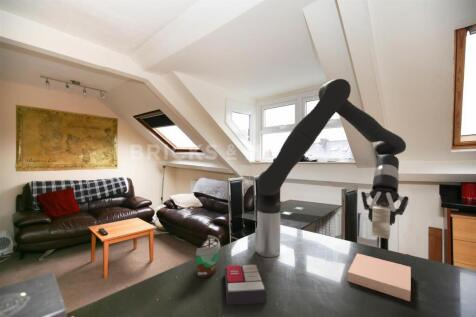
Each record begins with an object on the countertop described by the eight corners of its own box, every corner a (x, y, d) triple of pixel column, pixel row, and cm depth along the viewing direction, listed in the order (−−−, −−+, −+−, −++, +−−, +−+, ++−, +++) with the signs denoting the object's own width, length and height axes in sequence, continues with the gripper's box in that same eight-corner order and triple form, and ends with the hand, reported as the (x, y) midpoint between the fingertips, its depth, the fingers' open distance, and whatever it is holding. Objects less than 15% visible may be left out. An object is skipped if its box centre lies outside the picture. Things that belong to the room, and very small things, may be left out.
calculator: (257, 263, 77) (266, 287, 63) (257, 275, 77) (266, 303, 62) (224, 264, 76) (226, 290, 62) (224, 277, 76) (226, 306, 61)
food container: (214, 281, 72) (214, 250, 72) (196, 279, 73) (195, 249, 73) (224, 262, 84) (224, 236, 84) (208, 260, 86) (208, 234, 85)
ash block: (371, 235, 73) (372, 207, 73) (373, 231, 77) (374, 205, 76) (388, 239, 70) (389, 210, 70) (390, 234, 74) (390, 207, 74)
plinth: (347, 280, 73) (347, 271, 73) (356, 261, 86) (357, 253, 85) (410, 301, 63) (410, 291, 63) (410, 275, 76) (410, 267, 76)
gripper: (362, 172, 83) (354, 212, 74) (411, 175, 75) (409, 220, 66) (364, 184, 88) (357, 223, 79) (410, 188, 79) (408, 233, 70)
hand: (381, 222), depth 72 cm, fingers closed on ash block, 4 cm apart
